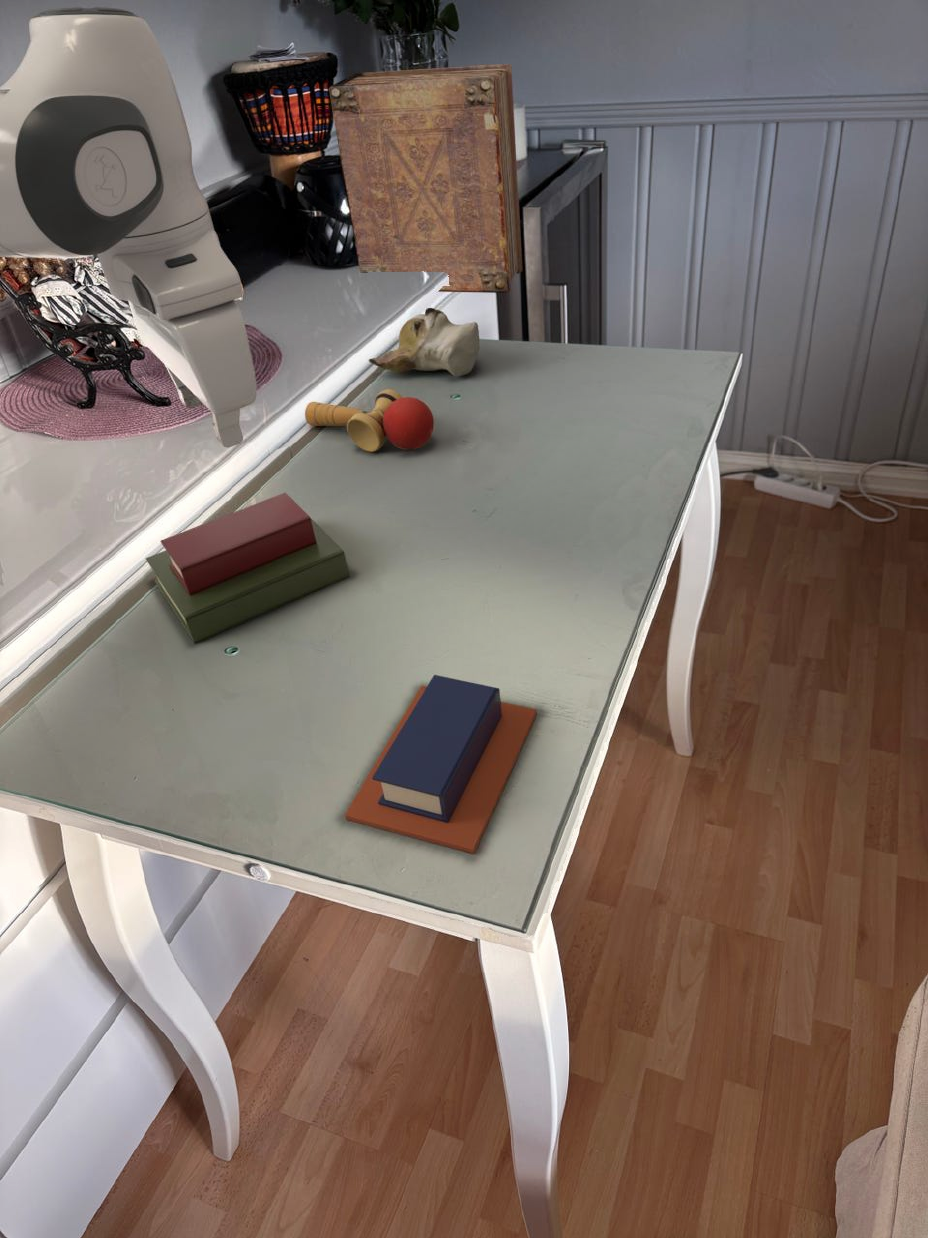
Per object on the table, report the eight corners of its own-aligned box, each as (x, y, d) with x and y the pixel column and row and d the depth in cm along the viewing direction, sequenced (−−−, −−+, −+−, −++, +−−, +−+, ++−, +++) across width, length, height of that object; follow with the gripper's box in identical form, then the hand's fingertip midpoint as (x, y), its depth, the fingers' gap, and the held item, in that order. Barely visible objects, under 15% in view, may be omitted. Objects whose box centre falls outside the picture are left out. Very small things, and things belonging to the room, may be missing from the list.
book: (524, 272, 151) (513, 63, 132) (509, 293, 144) (495, 75, 125) (382, 271, 158) (352, 72, 139) (362, 290, 151) (328, 85, 132)
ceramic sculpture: (454, 325, 112) (356, 320, 119) (464, 391, 118) (370, 382, 125) (494, 295, 119) (400, 292, 126) (502, 359, 124) (411, 352, 132)
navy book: (448, 823, 64) (443, 795, 62) (378, 804, 66) (372, 777, 64) (502, 715, 72) (499, 688, 70) (438, 701, 73) (434, 674, 72)
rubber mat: (474, 854, 62) (473, 849, 62) (345, 819, 66) (344, 815, 65) (537, 713, 72) (536, 709, 72) (422, 689, 75) (421, 685, 75)
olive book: (194, 643, 83) (185, 618, 81) (154, 582, 91) (145, 558, 89) (349, 576, 89) (344, 551, 87) (299, 524, 97) (293, 500, 95)
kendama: (295, 450, 113) (411, 460, 103) (285, 399, 110) (403, 404, 100) (336, 433, 118) (450, 440, 109) (327, 384, 115) (443, 387, 106)
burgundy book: (190, 595, 84) (180, 569, 82) (169, 566, 88) (160, 540, 86) (316, 543, 88) (310, 517, 87) (291, 517, 93) (285, 492, 91)
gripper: (87, 240, 75) (141, 394, 84) (161, 304, 61) (217, 481, 70) (160, 221, 78) (206, 373, 86) (248, 279, 64) (291, 453, 72)
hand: (211, 422), depth 78 cm, fingers open, 8 cm apart
